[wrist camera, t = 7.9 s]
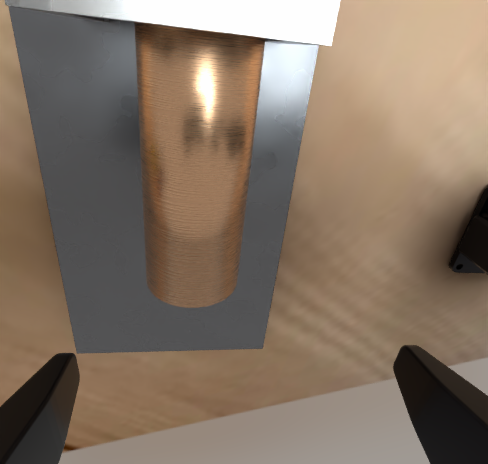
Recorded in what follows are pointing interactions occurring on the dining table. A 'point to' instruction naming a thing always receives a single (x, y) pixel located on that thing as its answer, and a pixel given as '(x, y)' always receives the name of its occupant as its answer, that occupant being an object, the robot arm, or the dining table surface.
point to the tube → (195, 157)
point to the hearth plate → (130, 186)
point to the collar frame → (210, 16)
